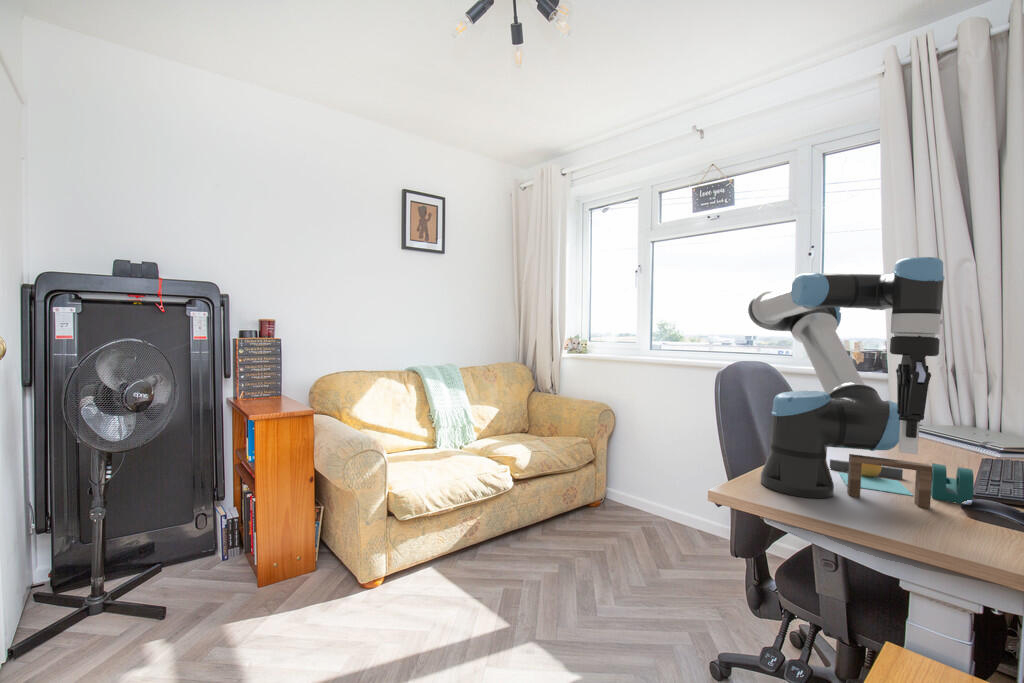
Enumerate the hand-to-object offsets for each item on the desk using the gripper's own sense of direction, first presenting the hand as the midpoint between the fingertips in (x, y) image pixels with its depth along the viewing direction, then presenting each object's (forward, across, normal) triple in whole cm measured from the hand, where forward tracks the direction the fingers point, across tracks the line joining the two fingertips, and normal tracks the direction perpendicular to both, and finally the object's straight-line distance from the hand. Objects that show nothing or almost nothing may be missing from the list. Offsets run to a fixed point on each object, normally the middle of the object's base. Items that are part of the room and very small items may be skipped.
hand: (907, 452), depth 95 cm
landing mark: (+14, +28, 0) cm, 31 cm away
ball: (+11, +35, 0) cm, 37 cm away
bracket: (+14, +30, -15) cm, 37 cm away
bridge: (+14, +14, 0) cm, 20 cm away
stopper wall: (+14, +38, 0) cm, 41 cm away
